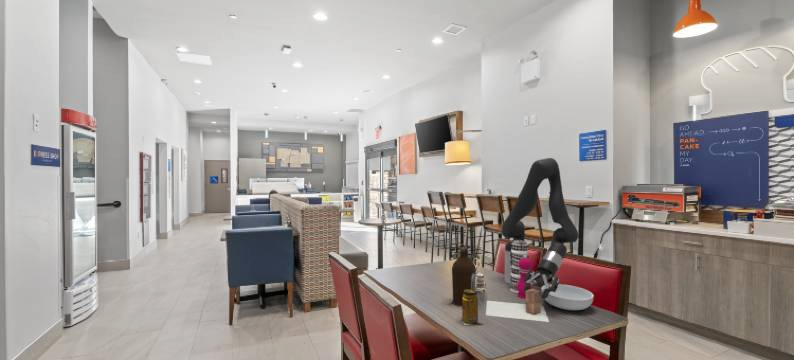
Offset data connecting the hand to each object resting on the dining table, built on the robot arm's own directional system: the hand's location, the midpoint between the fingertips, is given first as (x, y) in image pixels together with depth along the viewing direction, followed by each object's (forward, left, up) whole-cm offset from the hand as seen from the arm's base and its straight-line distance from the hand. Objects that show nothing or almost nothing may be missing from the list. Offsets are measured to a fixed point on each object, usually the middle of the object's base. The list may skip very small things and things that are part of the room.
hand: (533, 294), depth 152 cm
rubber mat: (+1, -7, -7) cm, 10 cm away
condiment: (+17, -24, -8) cm, 30 cm away
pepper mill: (-19, -2, -8) cm, 21 cm away
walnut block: (+1, 0, -7) cm, 7 cm away
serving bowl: (-12, +15, -8) cm, 21 cm away
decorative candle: (-29, -4, -8) cm, 31 cm away
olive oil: (-2, -29, -8) cm, 30 cm away
